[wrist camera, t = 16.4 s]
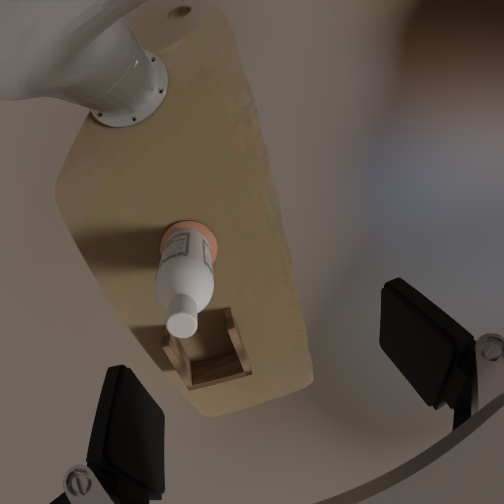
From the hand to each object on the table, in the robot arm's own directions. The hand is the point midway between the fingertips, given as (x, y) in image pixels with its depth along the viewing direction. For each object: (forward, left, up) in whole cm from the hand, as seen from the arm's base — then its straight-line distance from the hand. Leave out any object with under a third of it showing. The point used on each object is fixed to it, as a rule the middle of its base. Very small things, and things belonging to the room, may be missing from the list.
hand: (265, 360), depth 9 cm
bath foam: (+7, -6, -34) cm, 35 cm away
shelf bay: (+25, -9, -34) cm, 43 cm away
